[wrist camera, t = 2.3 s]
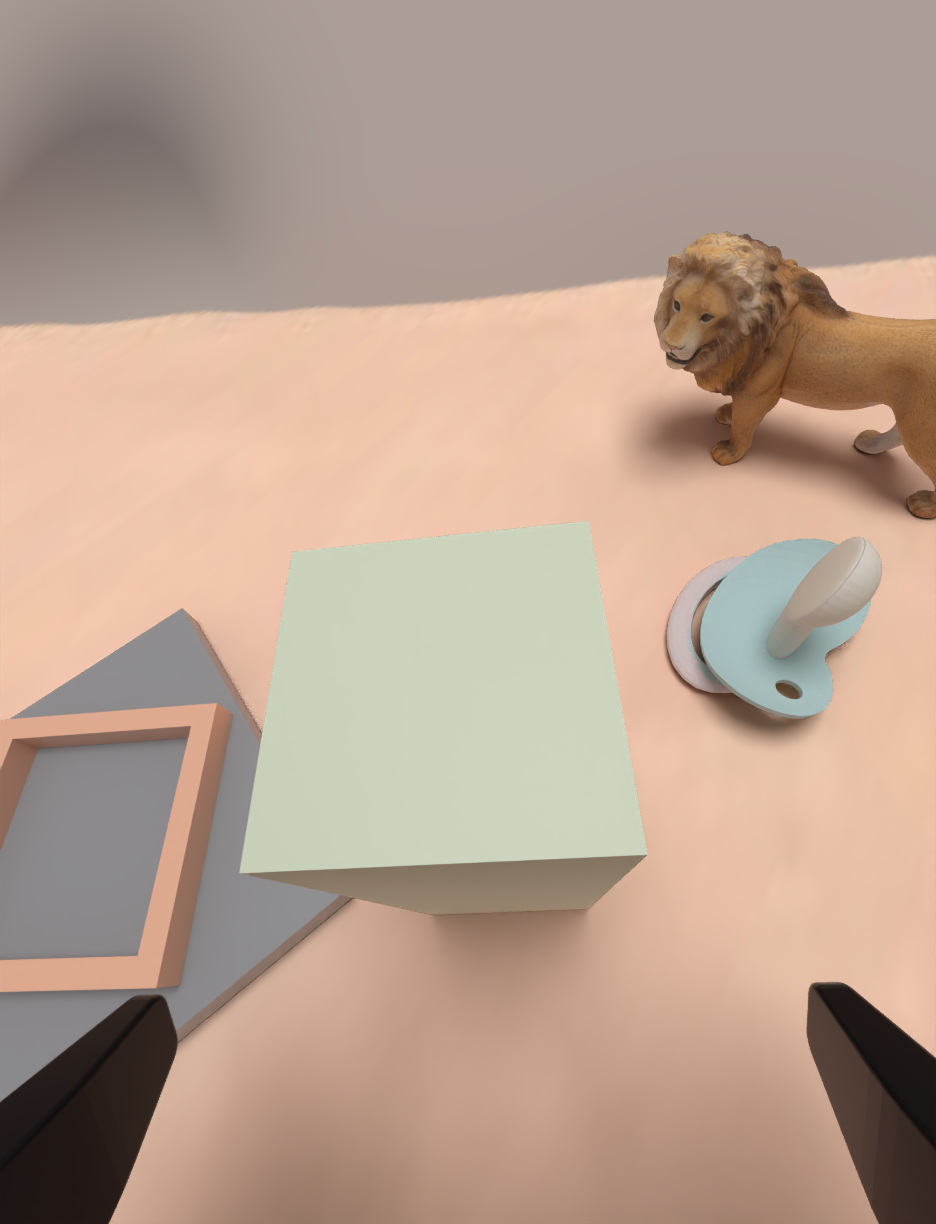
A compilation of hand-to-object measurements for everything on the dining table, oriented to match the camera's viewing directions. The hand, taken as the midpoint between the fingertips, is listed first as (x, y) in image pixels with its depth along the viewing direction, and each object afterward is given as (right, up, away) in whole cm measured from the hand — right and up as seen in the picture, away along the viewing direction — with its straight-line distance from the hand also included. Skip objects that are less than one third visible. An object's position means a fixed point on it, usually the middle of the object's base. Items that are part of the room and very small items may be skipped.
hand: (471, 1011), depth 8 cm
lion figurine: (+15, +12, +18) cm, 26 cm away
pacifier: (+11, +4, +14) cm, 18 cm away
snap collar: (-13, -2, +12) cm, 18 cm away
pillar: (+1, -2, +11) cm, 12 cm away
